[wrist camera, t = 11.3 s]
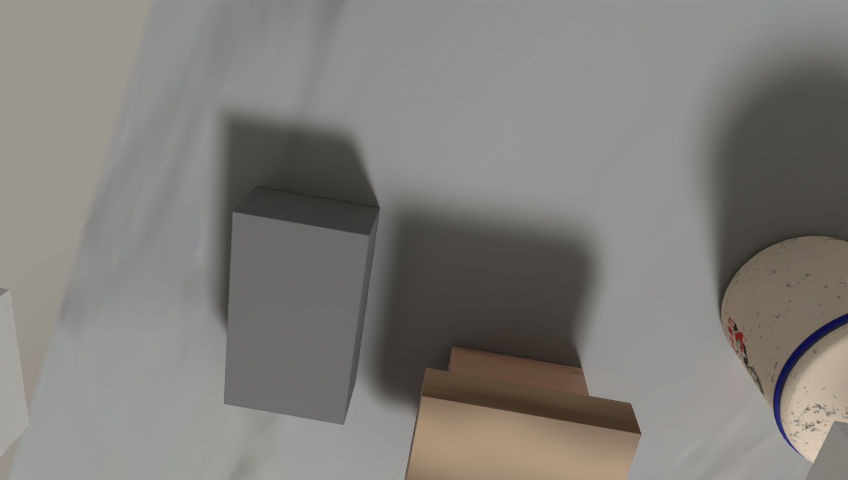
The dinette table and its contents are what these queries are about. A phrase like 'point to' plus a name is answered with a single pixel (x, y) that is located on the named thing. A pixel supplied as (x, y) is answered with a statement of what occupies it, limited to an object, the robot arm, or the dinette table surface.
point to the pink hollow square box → (517, 370)
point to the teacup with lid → (794, 334)
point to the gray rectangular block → (297, 303)
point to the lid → (517, 432)
